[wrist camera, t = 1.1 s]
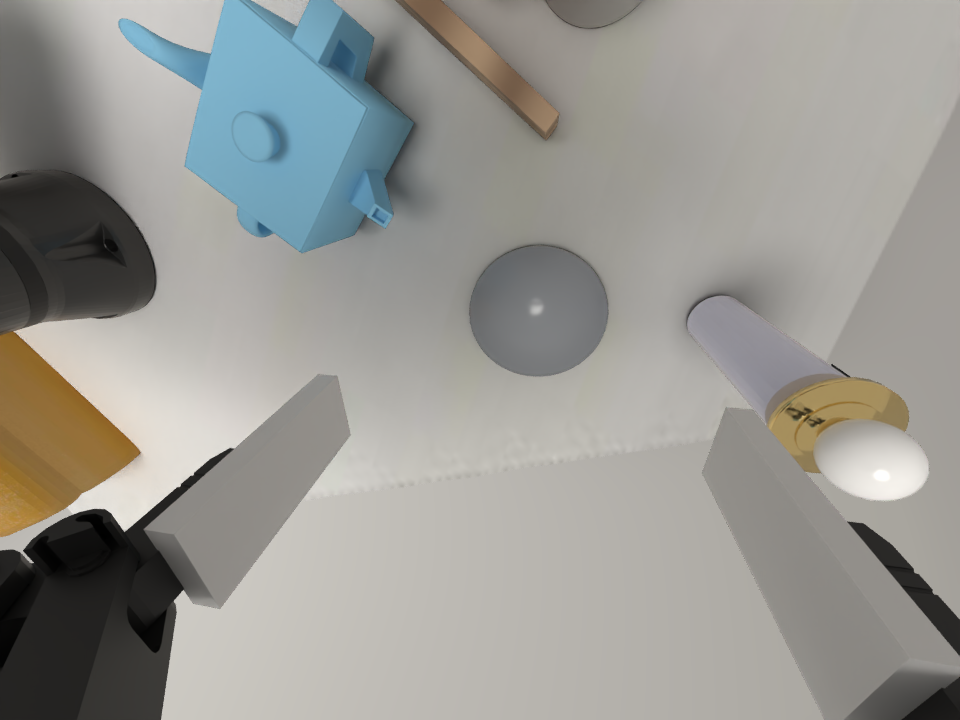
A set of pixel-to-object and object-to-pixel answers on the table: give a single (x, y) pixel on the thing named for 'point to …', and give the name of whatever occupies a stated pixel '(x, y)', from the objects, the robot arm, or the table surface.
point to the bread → (48, 439)
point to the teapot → (288, 120)
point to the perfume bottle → (813, 404)
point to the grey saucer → (538, 310)
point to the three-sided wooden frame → (484, 63)
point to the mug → (592, 11)
